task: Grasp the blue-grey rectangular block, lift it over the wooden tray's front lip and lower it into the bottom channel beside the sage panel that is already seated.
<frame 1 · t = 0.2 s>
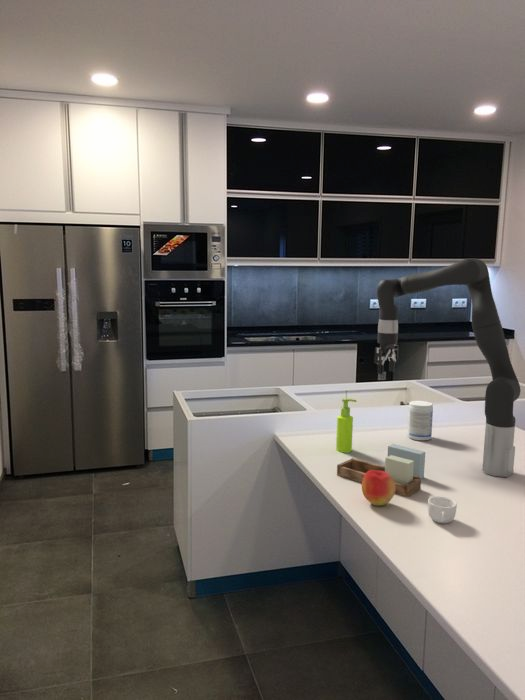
hand: (385, 372, 221), 29 cm above the kitchen island, fingers open, 8 cm apart
blue-grey rectangular block: (405, 474, 193), on the kitchen island
wooden tray: (377, 482, 186), on the kitchen island
seated panel: (398, 486, 181), point 1 cm above the kitchen island, touching wooden tray
teacup: (441, 522, 158), on the kitchen island
supplement tub: (419, 438, 235), on the kitchen island
apple: (377, 504, 169), on the kitchen island
soap dispenser: (345, 450, 218), on the kitchen island
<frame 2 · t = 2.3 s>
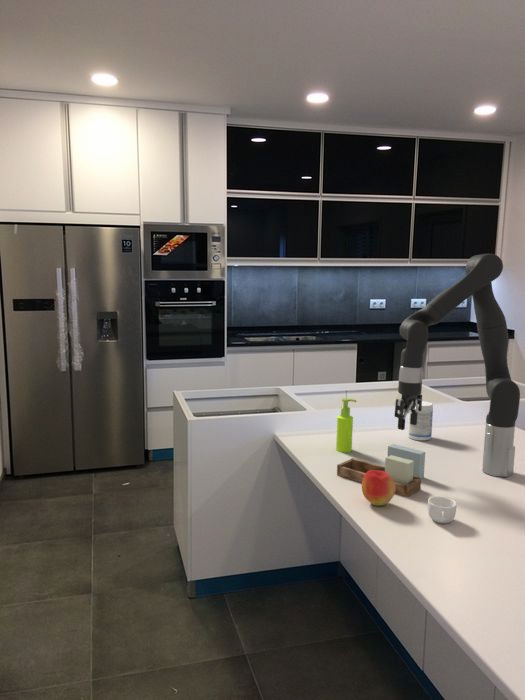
hand: (407, 426, 191), 17 cm above the kitchen island, fingers open, 8 cm apart
nothing on the kitchen island moved.
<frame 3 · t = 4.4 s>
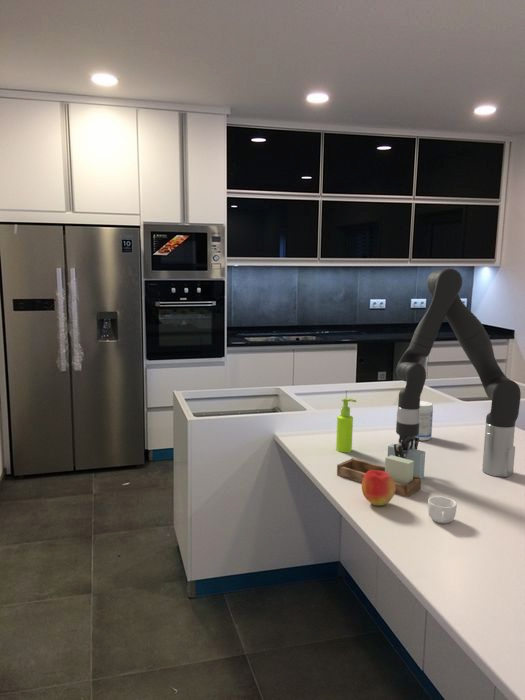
hand: (405, 469, 193), 2 cm above the kitchen island, fingers closed on blue-grey rectangular block, 3 cm apart
blue-grey rectangular block: (405, 474, 193), on the kitchen island, touching gripper
everything else where it was.
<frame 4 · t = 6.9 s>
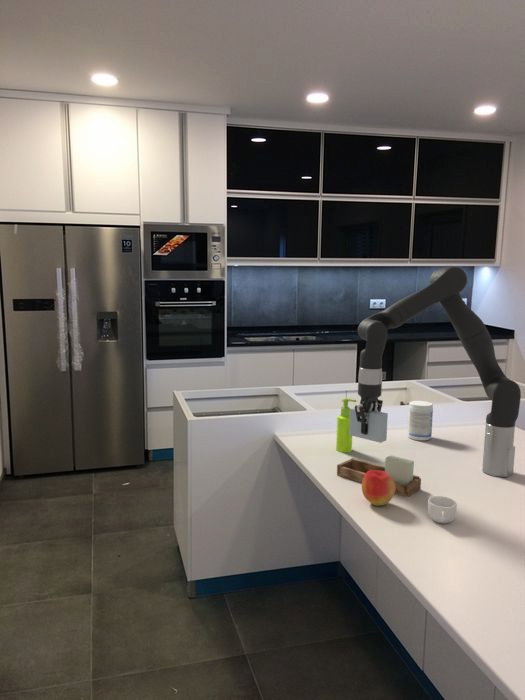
hand: (367, 432, 186), 16 cm above the kitchen island, fingers closed on blue-grey rectangular block, 3 cm apart
blue-grey rectangular block: (367, 437, 187), point 14 cm above the kitchen island, touching gripper
everything else where it was.
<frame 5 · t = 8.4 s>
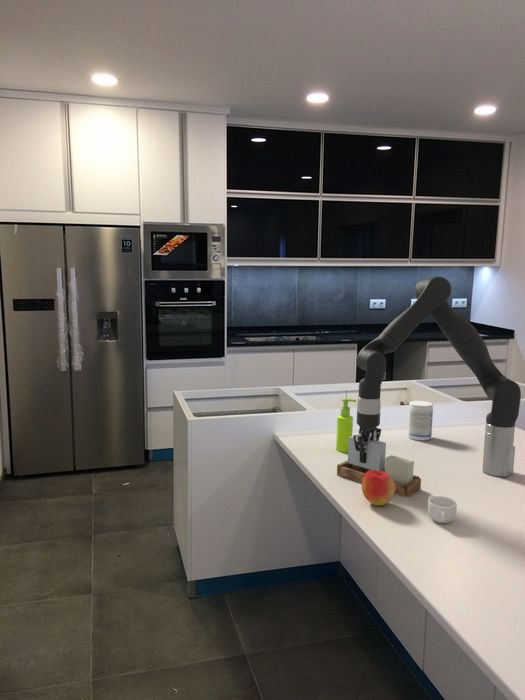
hand: (366, 460, 188), 6 cm above the kitchen island, fingers closed on blue-grey rectangular block, 3 cm apart
blue-grey rectangular block: (365, 466, 188), point 4 cm above the kitchen island, touching gripper
everything else where it was.
when the fingers open (5 cm above the kitchen island, at t = 9.5 s): blue-grey rectangular block drops 2 cm, resting on wooden tray.
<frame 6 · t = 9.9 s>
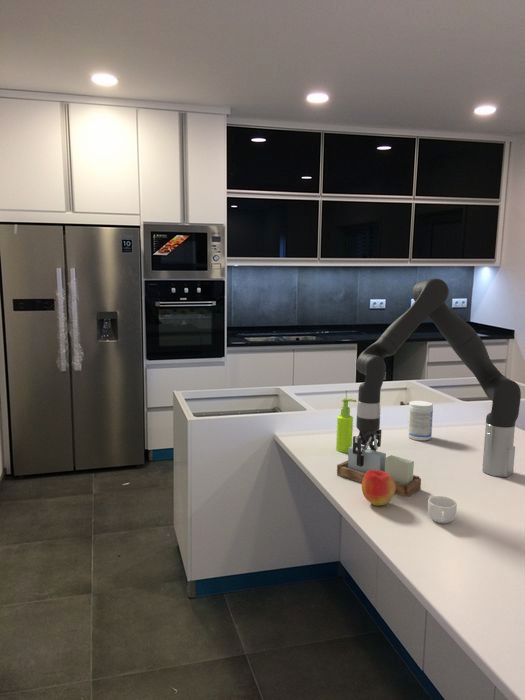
hand: (366, 463, 188), 5 cm above the kitchen island, fingers open, 7 cm apart
blue-grey rectangular block: (365, 476, 189), point 1 cm above the kitchen island, touching wooden tray
everything else where it was.
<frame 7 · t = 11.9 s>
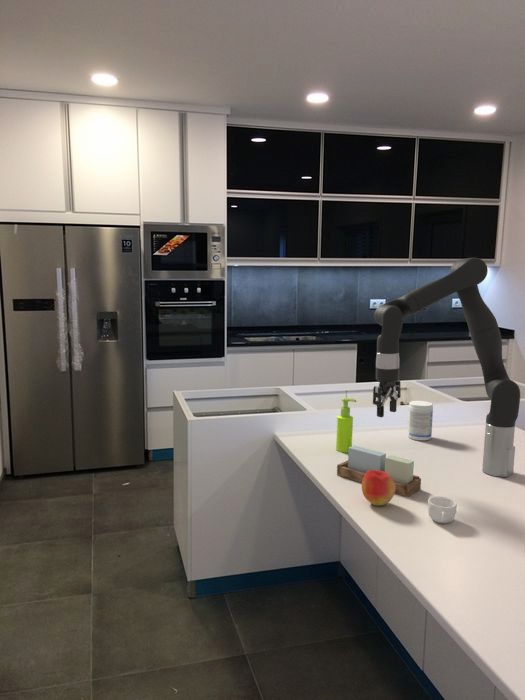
hand: (386, 414, 188), 21 cm above the kitchen island, fingers open, 8 cm apart
nothing on the kitchen island moved.
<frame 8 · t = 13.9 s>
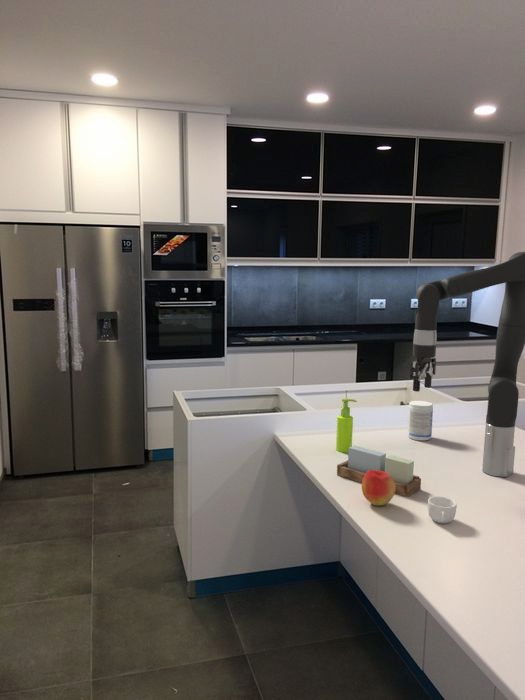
hand: (422, 389, 196), 28 cm above the kitchen island, fingers open, 8 cm apart
nothing on the kitchen island moved.
at the end: blue-grey rectangular block 0.3 cm from the target spot on the wooden tray, point 0.6 cm above the wooden tray's base; blue-grey rectangular block tilted 0°; the gripper is holding nothing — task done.
